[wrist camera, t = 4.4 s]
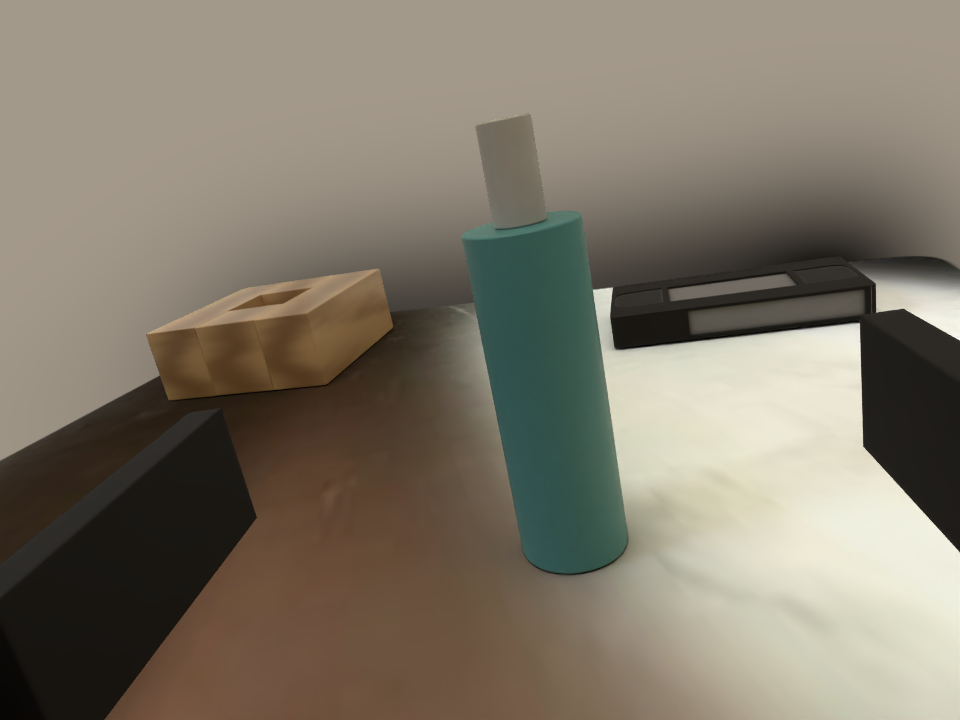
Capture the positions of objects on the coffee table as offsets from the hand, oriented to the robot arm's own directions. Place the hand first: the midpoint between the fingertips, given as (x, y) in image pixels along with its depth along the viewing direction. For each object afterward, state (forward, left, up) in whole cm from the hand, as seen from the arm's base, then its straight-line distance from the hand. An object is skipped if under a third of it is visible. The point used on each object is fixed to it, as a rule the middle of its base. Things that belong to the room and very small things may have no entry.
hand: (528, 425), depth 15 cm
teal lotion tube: (-1, +8, -8) cm, 11 cm away
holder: (-26, +33, -8) cm, 43 cm away
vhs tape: (+6, +32, -8) cm, 33 cm away
